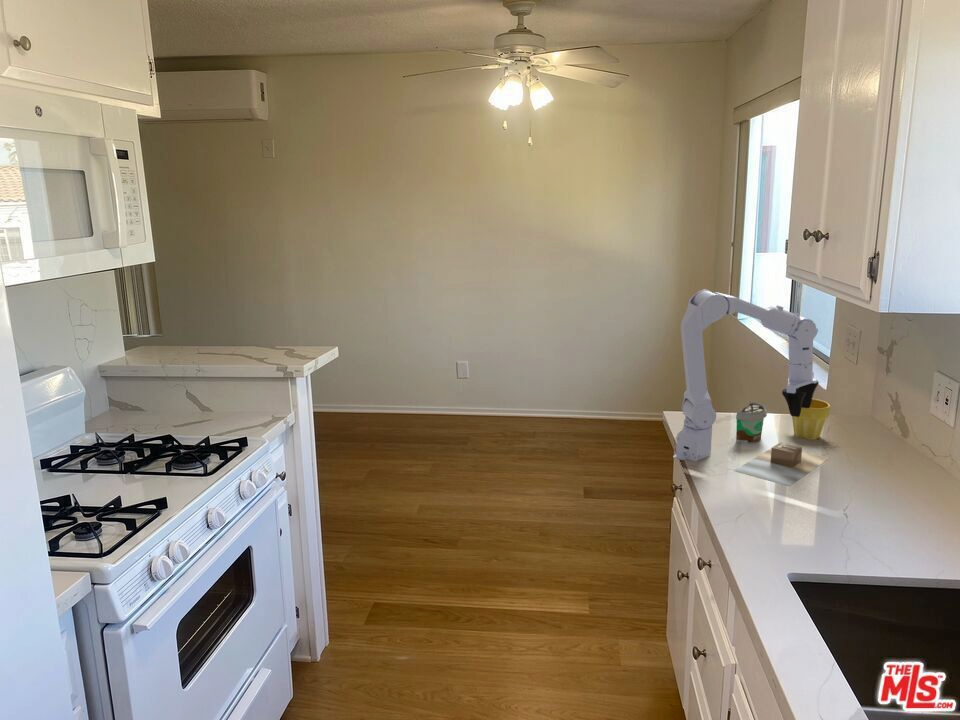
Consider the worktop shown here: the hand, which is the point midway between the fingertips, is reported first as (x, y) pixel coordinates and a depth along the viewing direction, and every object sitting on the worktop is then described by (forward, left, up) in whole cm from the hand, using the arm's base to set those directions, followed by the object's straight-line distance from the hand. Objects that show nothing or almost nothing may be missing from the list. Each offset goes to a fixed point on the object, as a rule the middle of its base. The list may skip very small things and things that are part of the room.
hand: (800, 411), depth 191 cm
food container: (0, +12, -12) cm, 17 cm away
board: (-13, -2, -11) cm, 18 cm away
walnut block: (-11, -2, -10) cm, 16 cm away
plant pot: (+15, +3, -12) cm, 19 cm away
